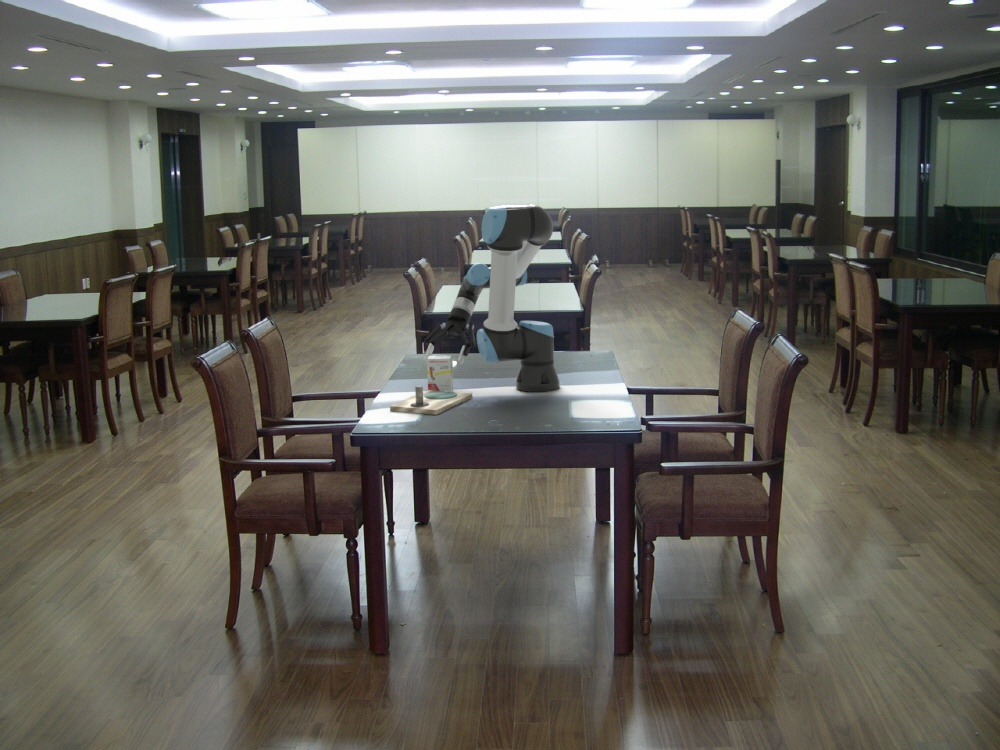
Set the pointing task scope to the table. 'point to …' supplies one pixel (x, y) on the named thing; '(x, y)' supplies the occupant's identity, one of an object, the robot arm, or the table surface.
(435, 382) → the ink box
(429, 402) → the board
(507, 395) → the table surface
